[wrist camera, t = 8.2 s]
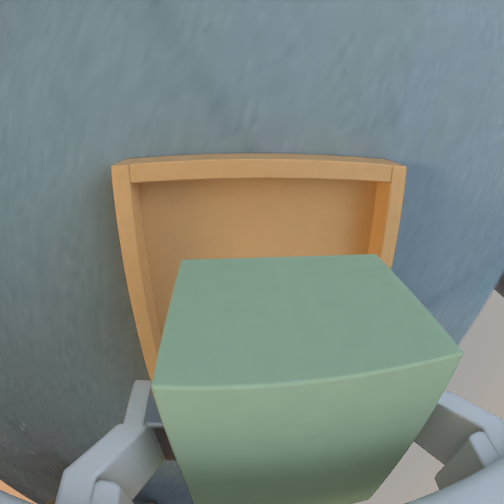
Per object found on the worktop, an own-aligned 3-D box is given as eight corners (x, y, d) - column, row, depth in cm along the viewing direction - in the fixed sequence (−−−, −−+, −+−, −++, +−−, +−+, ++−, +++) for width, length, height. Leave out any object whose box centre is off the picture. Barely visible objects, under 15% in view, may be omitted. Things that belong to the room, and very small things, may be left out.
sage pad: (375, 253, 9) (465, 352, 5) (338, 408, 12) (369, 499, 8) (180, 258, 8) (149, 387, 4) (202, 419, 11) (201, 520, 7)
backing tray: (387, 159, 14) (407, 166, 13) (336, 411, 22) (343, 431, 20) (125, 159, 13) (110, 166, 12) (172, 421, 21) (170, 441, 19)
